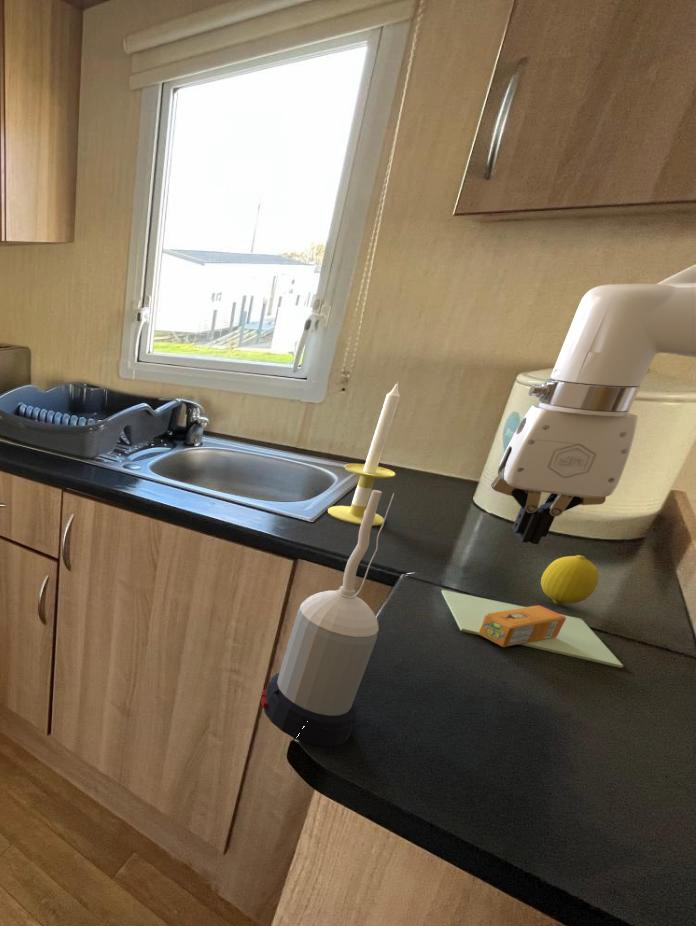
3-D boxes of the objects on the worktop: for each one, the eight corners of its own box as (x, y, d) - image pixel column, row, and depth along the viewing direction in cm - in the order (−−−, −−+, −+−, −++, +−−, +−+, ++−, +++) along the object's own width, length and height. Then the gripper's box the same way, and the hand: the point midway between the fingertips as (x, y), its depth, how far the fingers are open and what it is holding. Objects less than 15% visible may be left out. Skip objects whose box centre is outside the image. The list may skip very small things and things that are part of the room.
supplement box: (529, 626, 75) (474, 633, 72) (540, 604, 74) (485, 610, 71) (557, 640, 72) (501, 648, 69) (569, 617, 71) (513, 624, 68)
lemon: (566, 598, 83) (591, 550, 80) (592, 617, 78) (619, 567, 75) (523, 591, 84) (546, 544, 81) (546, 610, 79) (570, 561, 76)
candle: (395, 521, 110) (442, 384, 99) (365, 528, 105) (411, 386, 95) (346, 504, 118) (385, 376, 107) (316, 511, 114) (354, 378, 103)
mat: (580, 621, 77) (581, 618, 77) (622, 668, 67) (623, 665, 67) (441, 591, 83) (442, 589, 83) (460, 631, 73) (461, 628, 73)
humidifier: (245, 695, 60) (304, 478, 50) (309, 686, 62) (378, 474, 52) (299, 752, 53) (381, 511, 43) (369, 740, 54) (463, 506, 45)
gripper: (515, 397, 65) (462, 538, 72) (695, 409, 58) (616, 563, 66) (496, 388, 71) (448, 519, 78) (657, 399, 65) (589, 540, 72)
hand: (525, 539), depth 72 cm, fingers closed
